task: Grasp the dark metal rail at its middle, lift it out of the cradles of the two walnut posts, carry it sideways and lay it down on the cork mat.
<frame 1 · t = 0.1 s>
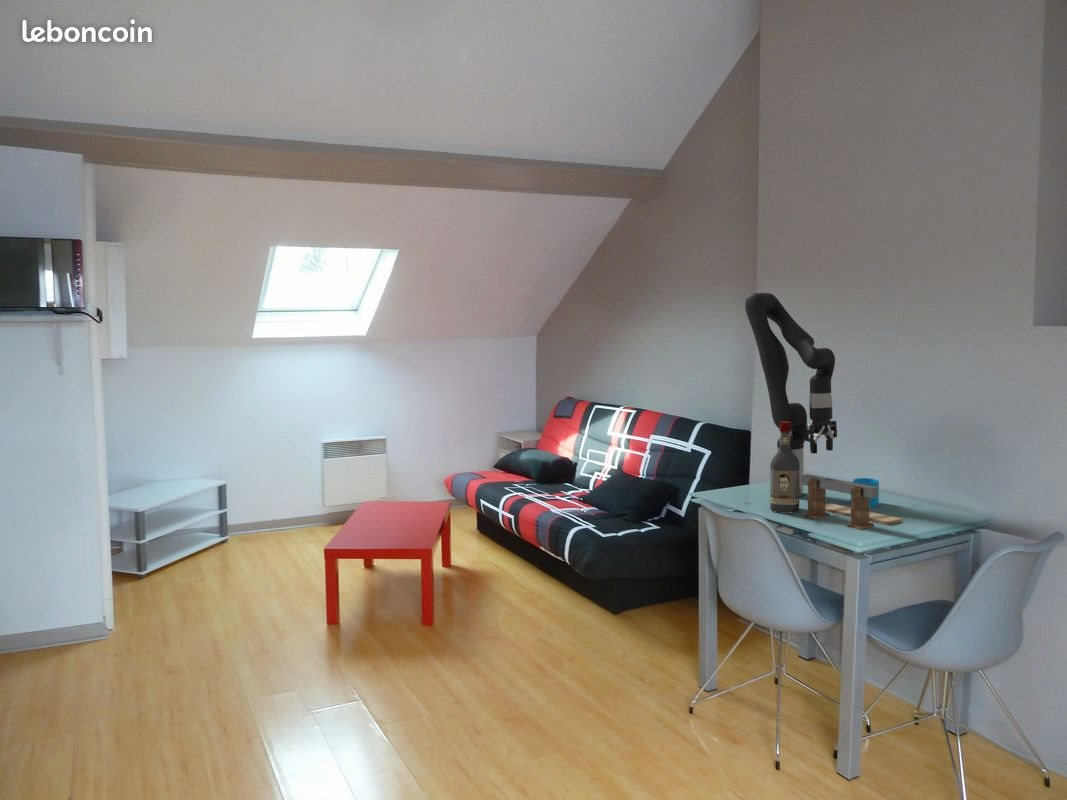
hand: (821, 451, 289), 17 cm above the table, tool pointing down, fingers open, 8 cm apart
post 1: (816, 516, 270), on the table
liquor: (784, 510, 279), on the table
mat: (858, 515, 269), on the table
mug: (861, 503, 286), on the table
rail: (838, 490, 262), point 10 cm above the table, touching post 2, post 1
post 2: (859, 526, 256), on the table
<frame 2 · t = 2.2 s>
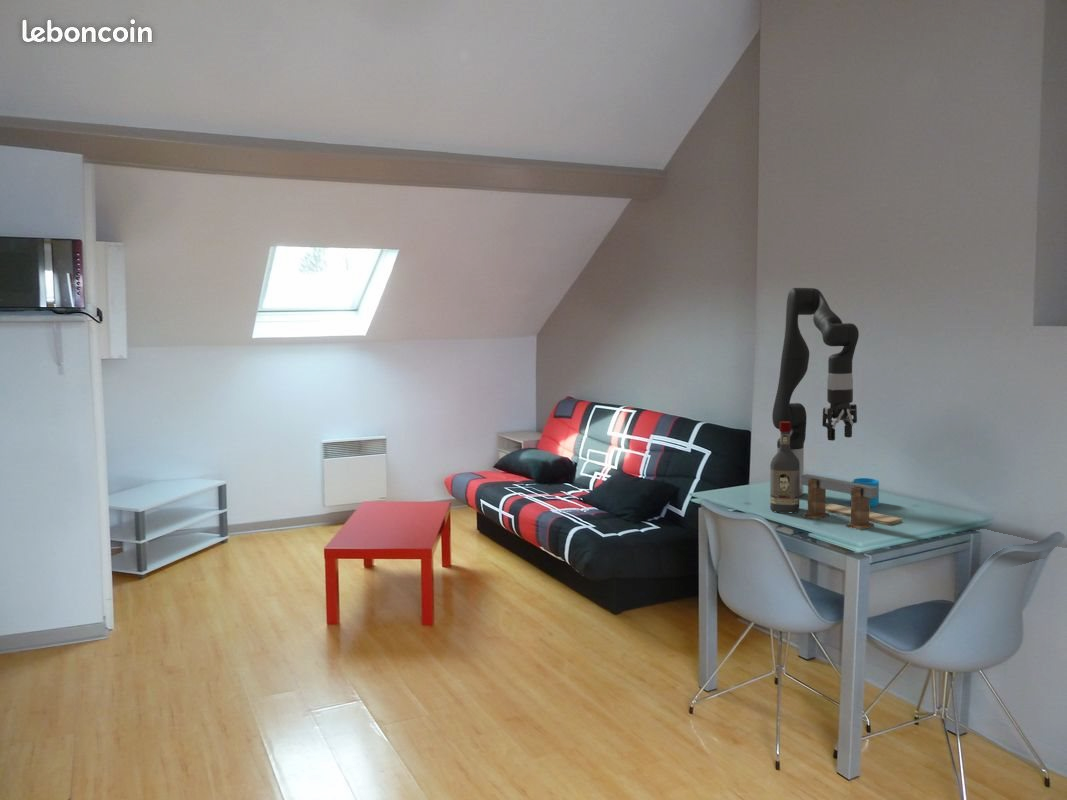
hand: (839, 438, 260), 27 cm above the table, tool pointing down, fingers open, 8 cm apart
nothing on the table moved.
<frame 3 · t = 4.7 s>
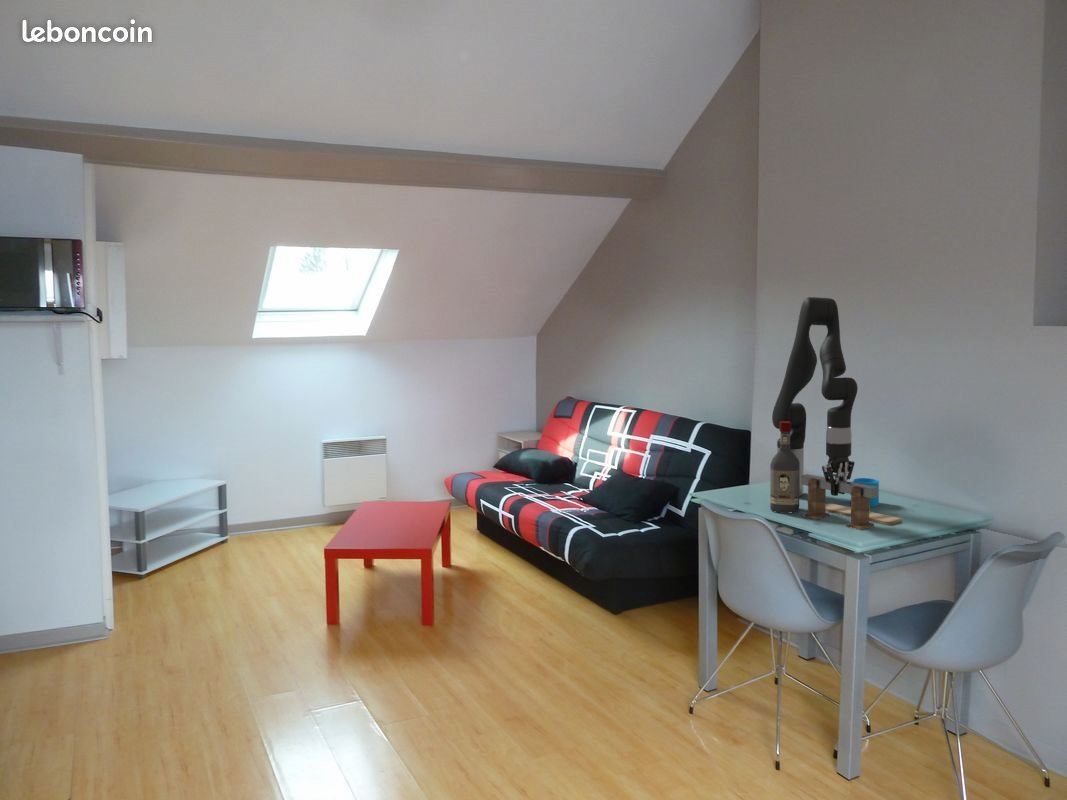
hand: (838, 494, 262), 9 cm above the table, tool pointing down, fingers closed on rail, 3 cm apart
rail: (838, 490, 262), point 10 cm above the table, touching gripper, post 2, post 1
everything else where it was.
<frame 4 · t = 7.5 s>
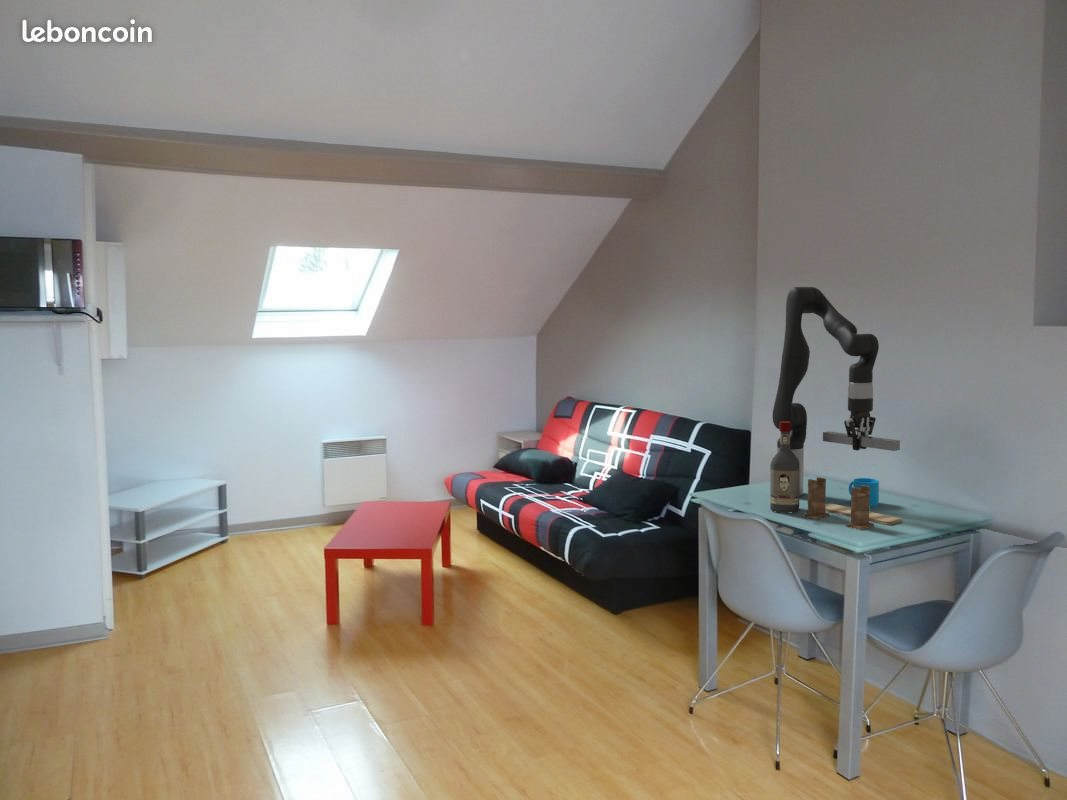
hand: (859, 449, 267), 22 cm above the table, tool pointing down, fingers closed on rail, 3 cm apart
rail: (859, 445, 266), point 23 cm above the table, touching gripper
everything else where it was.
when the fingers open (2 cm above the table, at t = 10.3 s): rail drops 2 cm, resting on mat.
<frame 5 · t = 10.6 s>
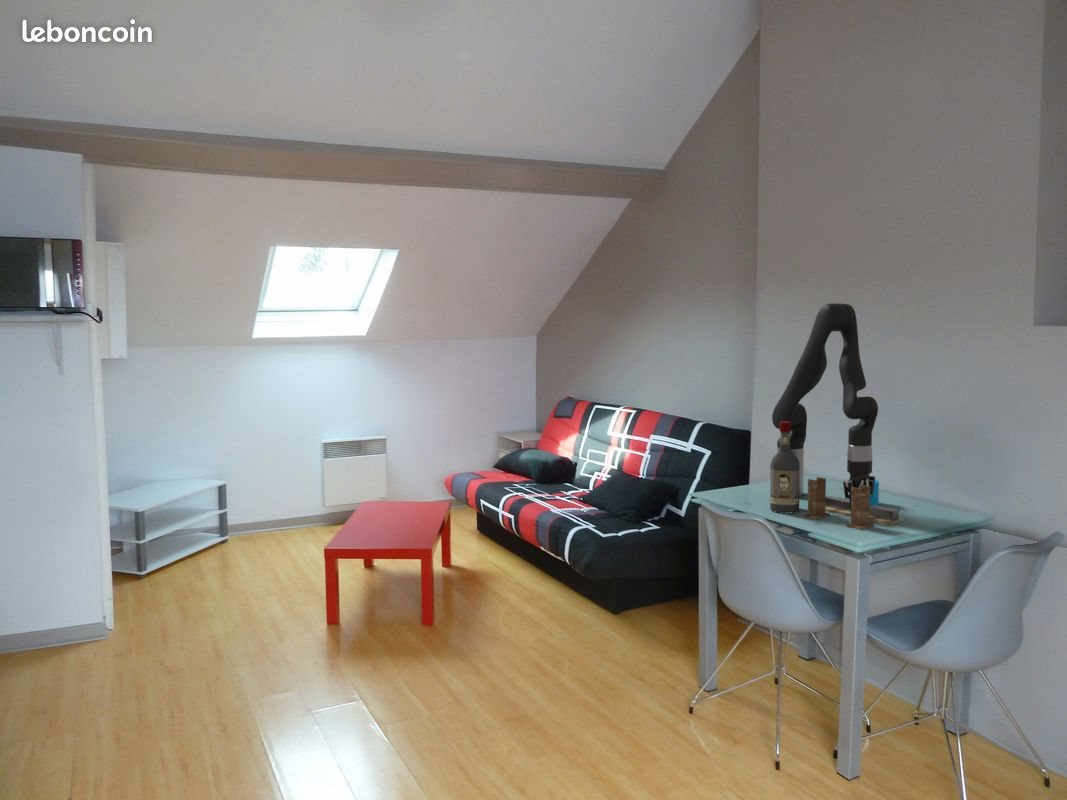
hand: (858, 509, 269), 2 cm above the table, tool pointing down, fingers open, 5 cm apart
rail: (859, 512, 269), point 1 cm above the table, touching mat
everything else where it was.
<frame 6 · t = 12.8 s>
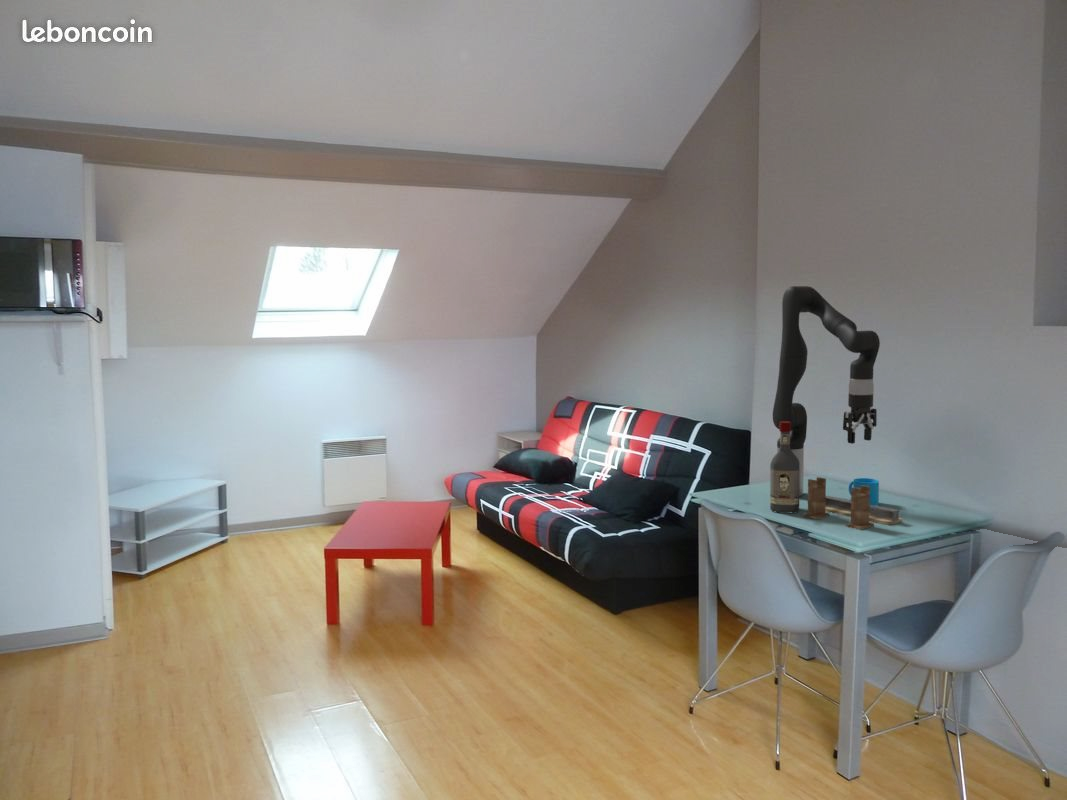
hand: (859, 441, 270), 24 cm above the table, tool pointing down, fingers open, 8 cm apart
nothing on the table moved.
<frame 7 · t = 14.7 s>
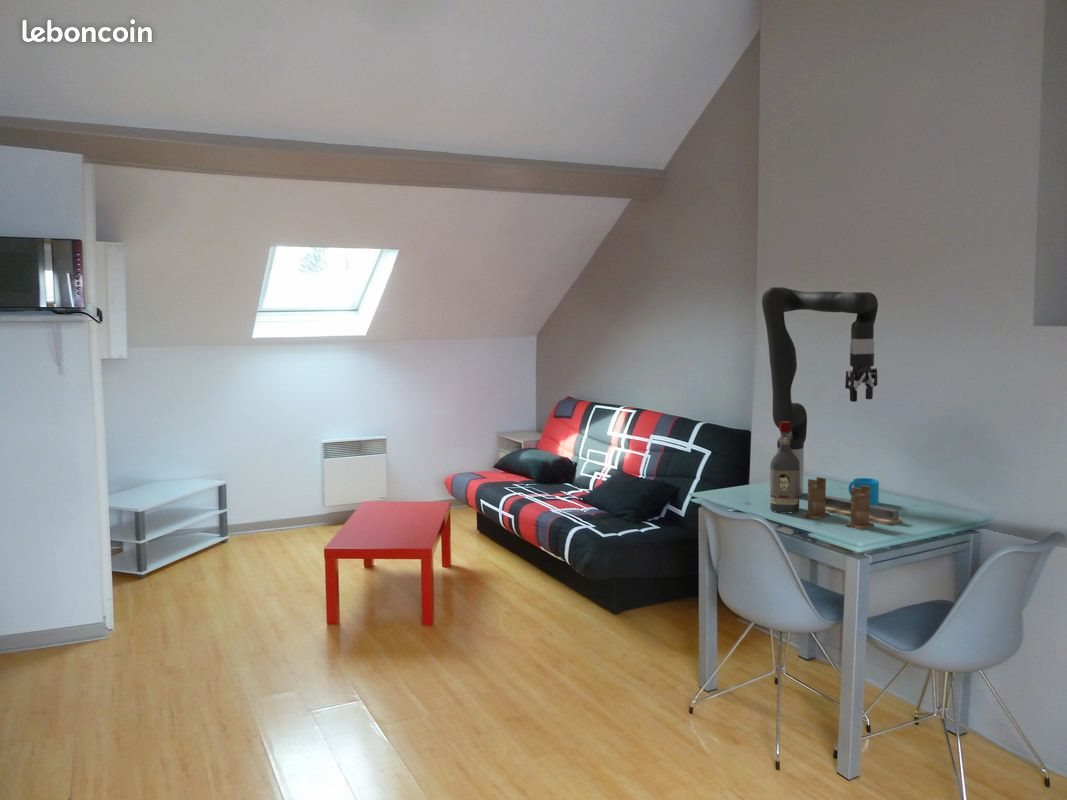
hand: (861, 400, 278), 36 cm above the table, tool pointing down, fingers open, 8 cm apart
nothing on the table moved.
at the end: rail inside the target area (0.1 cm from its centre), point 1.0 cm above the table; the gripper is holding nothing; rail touching mat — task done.
